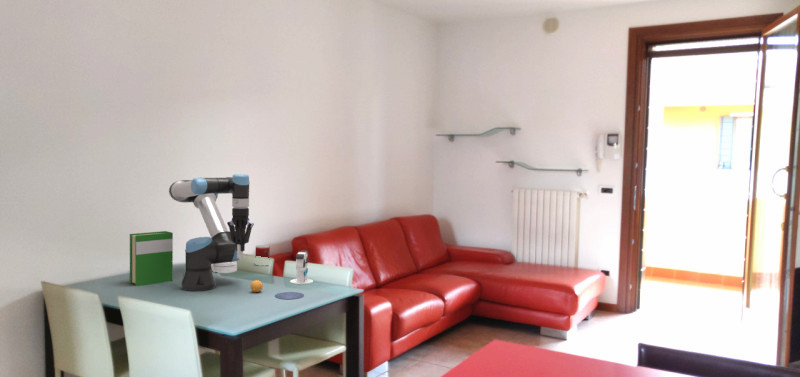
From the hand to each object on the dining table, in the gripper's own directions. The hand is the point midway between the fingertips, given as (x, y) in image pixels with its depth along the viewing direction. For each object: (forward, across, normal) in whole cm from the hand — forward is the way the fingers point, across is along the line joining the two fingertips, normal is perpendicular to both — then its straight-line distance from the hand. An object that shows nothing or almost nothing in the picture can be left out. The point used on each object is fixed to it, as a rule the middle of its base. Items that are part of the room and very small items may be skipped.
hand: (240, 258), depth 269 cm
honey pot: (+15, -33, +35) cm, 50 cm away
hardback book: (+15, -48, -3) cm, 50 cm away
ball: (+13, +9, 0) cm, 15 cm away
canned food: (+15, -23, +57) cm, 63 cm away
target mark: (+15, +26, 0) cm, 30 cm away
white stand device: (+16, +17, +28) cm, 36 cm away
